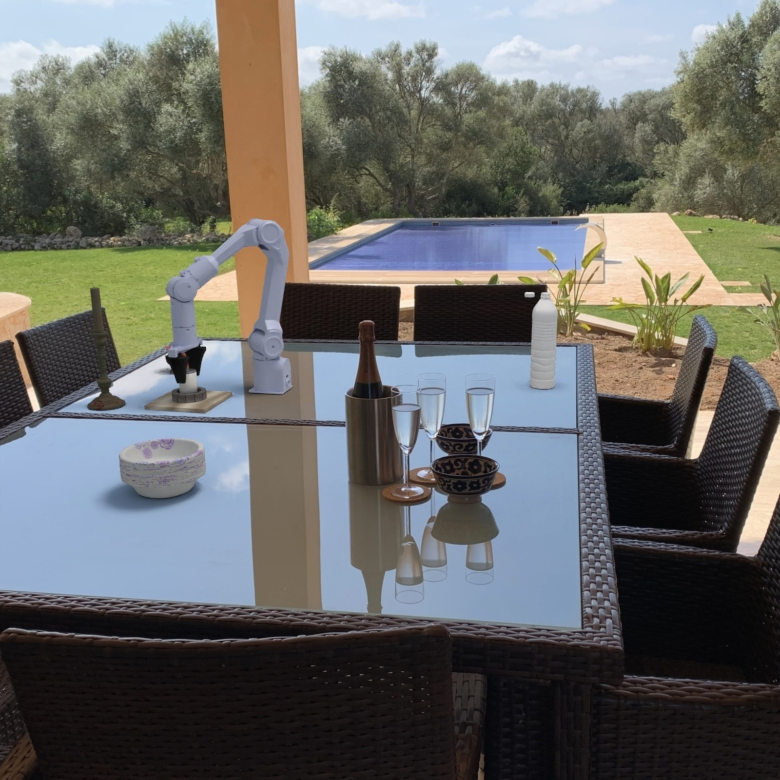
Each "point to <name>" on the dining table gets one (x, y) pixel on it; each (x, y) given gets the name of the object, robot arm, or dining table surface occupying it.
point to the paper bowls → (162, 466)
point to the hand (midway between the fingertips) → (188, 379)
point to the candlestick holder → (101, 360)
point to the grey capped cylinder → (189, 383)
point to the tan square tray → (189, 401)
